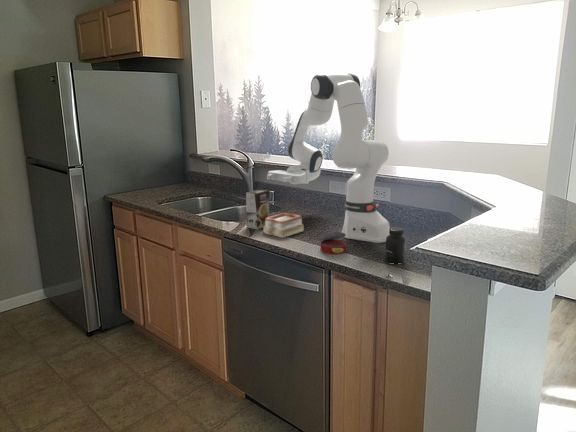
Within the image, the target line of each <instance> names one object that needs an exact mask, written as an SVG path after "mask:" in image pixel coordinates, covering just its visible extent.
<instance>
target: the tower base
mask: <svg viewBox="0 0 576 432" xmlns="http://www.w3.org/2000/svg"><path fill="white" fill-rule="evenodd" d="M302 219H303V217H302V215H299V214H294V213H289V212H288V213H287V212H282V213H278V214H274V215H269V217H267V218H265V226H263V229H262V230H263V234H265V235H266V234H267V235H271V236H273V237H277V236H278V238H281V237H282V238H283V237H284V238H286V236H287V237H289V236H292V235H295V234H299V233H301V232H304V231H305V230H304V227H305V226H304V224H303V223H302V221H303V220H302ZM284 238H283V239H284Z"/></svg>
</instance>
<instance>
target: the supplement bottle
mask: <svg viewBox="0 0 576 432" xmlns="http://www.w3.org/2000/svg"><path fill="white" fill-rule="evenodd" d="M404 231H405V230H404V228H403V227H398V226H391V227H390V229H389V234H390V235H388V236H387V237H386V242H385V245H384V247H385V250H384V262H385V263H387V262H388V263H387V264H389V263H394V264H398V263H403V262H404V263H405V261H406V260H405V258H406V246H407V238H406V237H405V236H404V234H405V232H404ZM404 263H403V264H404Z"/></svg>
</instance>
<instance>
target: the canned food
mask: <svg viewBox="0 0 576 432" xmlns="http://www.w3.org/2000/svg"><path fill="white" fill-rule="evenodd" d="M345 235H346V234H344V233H342V231H334V232H329V233H328V234H326V235H324V236H323V237H322V238H320V240H319V241H320V252H321V253H323V252H324V254H327V253H328V254H327V255H342V254H345V253H346V252H347V251H348V250H347V248H348V243H347V241H345V240H342V239H341V238H345V237H344V236H345ZM341 253H342V254H341Z"/></svg>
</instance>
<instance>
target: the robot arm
mask: <svg viewBox="0 0 576 432" xmlns="http://www.w3.org/2000/svg"><path fill="white" fill-rule="evenodd" d="M310 91H311V92H310V93H311V94H310V98H309V102H308V107H307V109H306V110H304V111H303V112H302V113H301V114H300V116H299V119H298V122H297V125H296V127H295V130H294V133H293V135H292V139H291V140H290V143H289V145H288V147H287V153H288V156H289V158H291V159H293V160H295V161H298V162H299V163H300V164H297V165H292V166H289V167H288V168H287V169H286V170H282V169H281V170H280V169H277V170H269V171H268V172H267V175H266V179H267V180H275V181H281V182H283V183H289V184H291V185H300V184H302V185H308V184H309V183H310V182H312V181H314V180H316V179H317V178H319V176H320V175H321V172H322V169H321V168H322V167H321V166H322V164H323V159H324V158H323V153H322V151H321V150H319V149H318V148H316V147H314V146H312V145H311V144H309V143H307V142H306V141H305V137H306V134H307V131H308V129H309V127H310V126H321V125H324V124H326V123H328V122H329V121H330V119H331V116H332V114H333V108H334V103H335V101H336V105H337V110H338V116H339V121H340V137H339V140H338V142H337V144H336V145H334V147H333V150H332V154H331V155H332V157H331V158H332V161H333V163H334V165H335V166H336V167H338V168H341V169H348V170H352V169H355V172H354V173H353V175H352V176H351V177H350V178H349V179H347V181H346V187H345V188H346V191H345V192H346V193H345V194H346V195H345V196H346V197H345V198H346V199H345V200H344V211H345V214H344V221H343V226H342V229H341V233H344V234H346V235H345V236H344V237H343V238H345V239H351V240H357V241H365V242H370V243H376V244H380V243H386V237H387V236H388V235H390V234H389V229H390V228H391V227H390V223H389V220H387V219H386V218H385V217H384V216H383V215H382V214H381V213H380V212H379V211H378V210H377V208H378V206H379V203H375V201H374V188H375V187H374V186H375V182H376V179H377V176H378V173H379V170H380V169H381V167H382V166H383V165H384V164H385V163H386V161H387V160H388V158H389V147H388V145H387V144H386V142H384V141H381V140H377V139H366V140H364V139H363V131H364V130H365V129H367V127H368V125H369V117H368V111H367V108H366V103H365V99H364V95H363V92H362V89H361V82H360V78H359V76H358V75H356V74H352V73H341V72H330V73H328V72H327V73H318V74H316V75H314V76H313V77H312V80H311V81H310Z"/></svg>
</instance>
